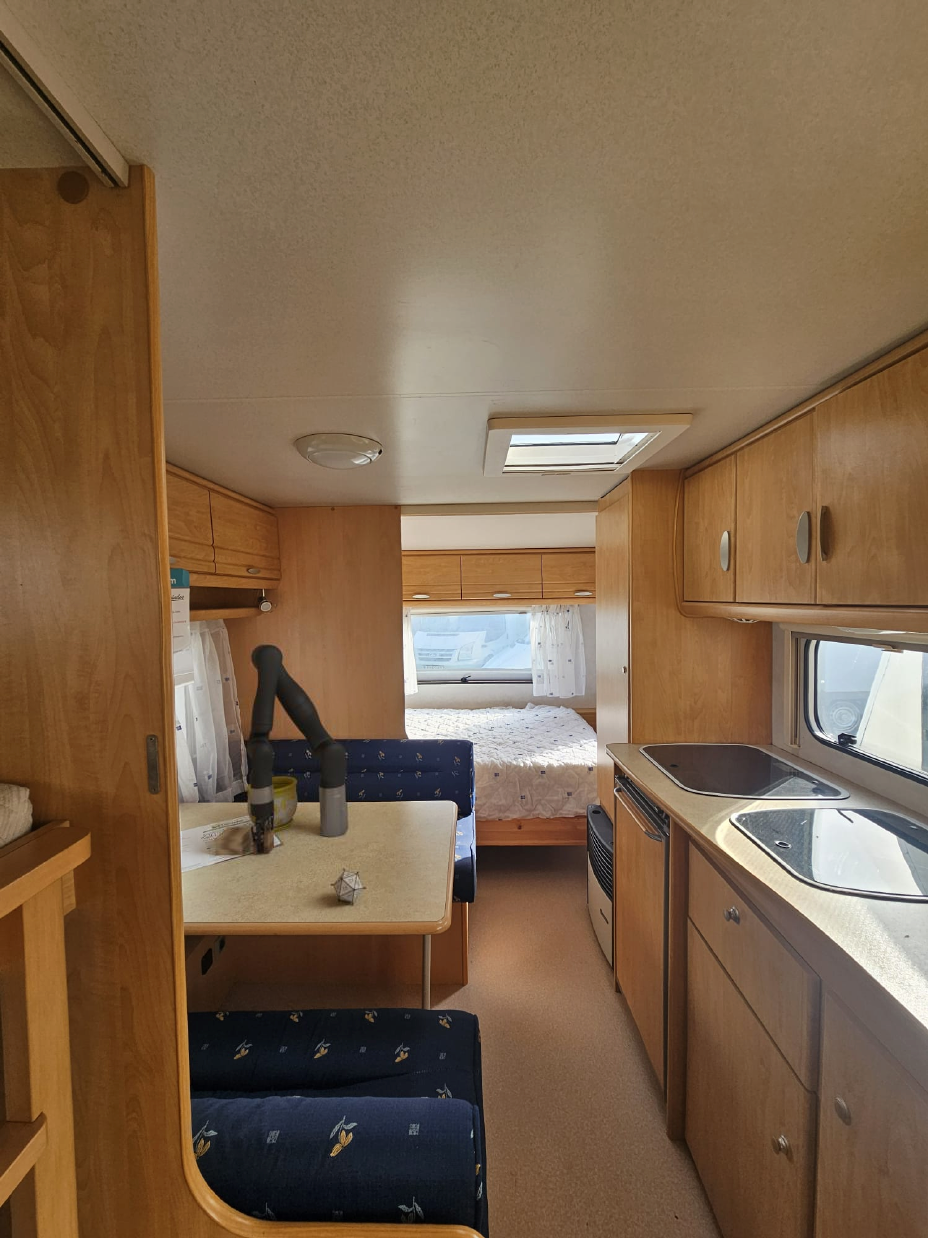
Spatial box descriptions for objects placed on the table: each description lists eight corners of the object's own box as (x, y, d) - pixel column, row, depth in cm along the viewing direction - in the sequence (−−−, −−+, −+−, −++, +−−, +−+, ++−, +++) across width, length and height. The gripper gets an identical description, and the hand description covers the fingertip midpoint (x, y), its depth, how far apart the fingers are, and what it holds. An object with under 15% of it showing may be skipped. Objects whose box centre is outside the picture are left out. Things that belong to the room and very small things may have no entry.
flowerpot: (280, 814, 210) (278, 773, 210) (308, 823, 200) (306, 780, 200) (238, 830, 196) (236, 786, 196) (266, 840, 185) (264, 794, 185)
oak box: (253, 843, 183) (252, 826, 183) (242, 855, 174) (241, 837, 174) (228, 844, 184) (227, 827, 183) (215, 856, 175) (214, 838, 174)
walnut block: (274, 847, 179) (273, 830, 179) (268, 854, 174) (267, 836, 174) (259, 848, 179) (259, 830, 179) (253, 854, 174) (252, 836, 174)
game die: (344, 912, 144) (334, 875, 149) (372, 899, 145) (362, 862, 150) (332, 912, 136) (323, 873, 141) (363, 898, 137) (352, 860, 142)
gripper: (264, 806, 169) (266, 858, 169) (280, 791, 184) (282, 839, 184) (241, 807, 170) (243, 859, 170) (259, 792, 184) (261, 840, 184)
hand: (264, 849), depth 177 cm, fingers closed on walnut block, 5 cm apart
